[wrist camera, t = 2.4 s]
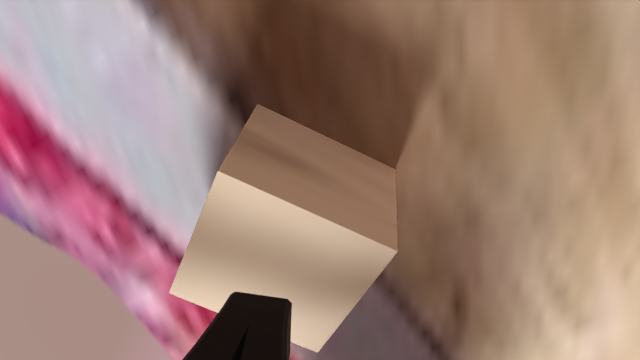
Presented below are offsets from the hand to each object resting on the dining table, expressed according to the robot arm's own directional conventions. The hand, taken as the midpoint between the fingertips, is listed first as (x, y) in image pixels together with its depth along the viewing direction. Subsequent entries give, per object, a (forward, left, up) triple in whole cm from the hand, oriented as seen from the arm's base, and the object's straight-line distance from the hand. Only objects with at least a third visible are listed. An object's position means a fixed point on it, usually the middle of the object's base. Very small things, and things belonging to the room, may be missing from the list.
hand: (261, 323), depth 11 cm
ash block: (-2, 0, -9) cm, 9 cm away
